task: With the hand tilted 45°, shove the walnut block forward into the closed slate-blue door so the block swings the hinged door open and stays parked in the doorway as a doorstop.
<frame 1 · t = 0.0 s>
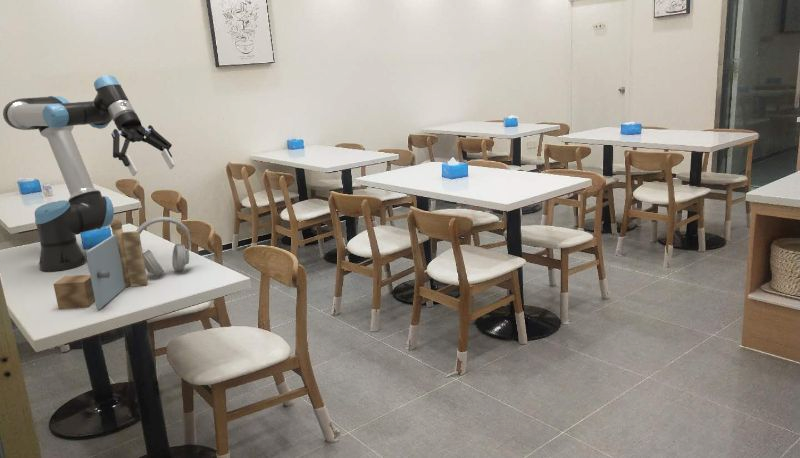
hand: (154, 170, 200), 36 cm above the table, tool tilted 35°, fingers open, 13 cm apart
brown long wooden part: (127, 285, 199), on the table
walnut block: (79, 304, 185), on the table
door: (111, 269, 186), point 9 cm above the table, hinge at 0.0°
brick: (123, 254, 239), on the table
headphones: (167, 274, 210), on the table
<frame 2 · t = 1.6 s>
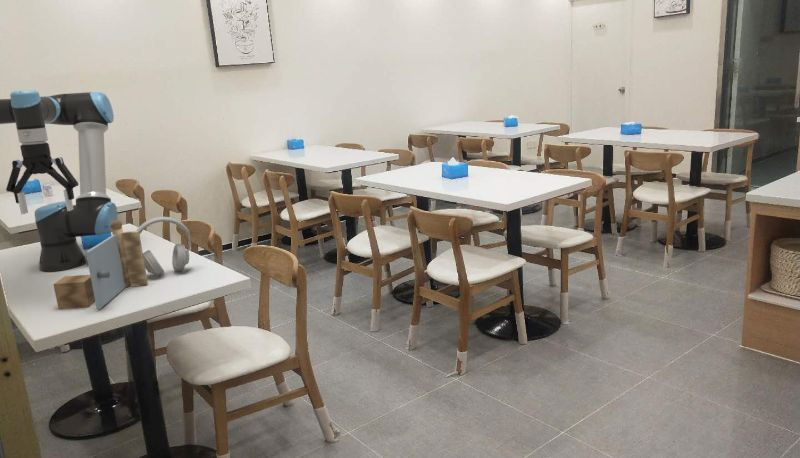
hand: (47, 211, 189), 27 cm above the table, tool pointing down, fingers open, 13 cm apart
nothing on the table moved.
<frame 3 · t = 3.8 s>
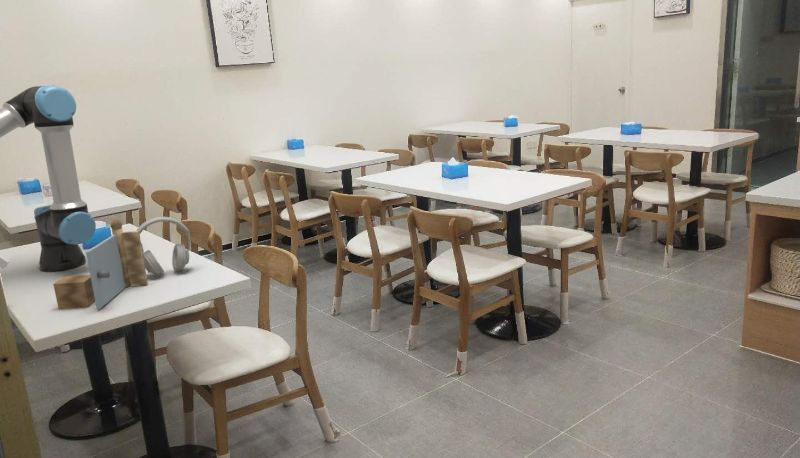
hand: (6, 264, 184), 13 cm above the table, tool tilted 45°, fingers closed
nothing on the table moved.
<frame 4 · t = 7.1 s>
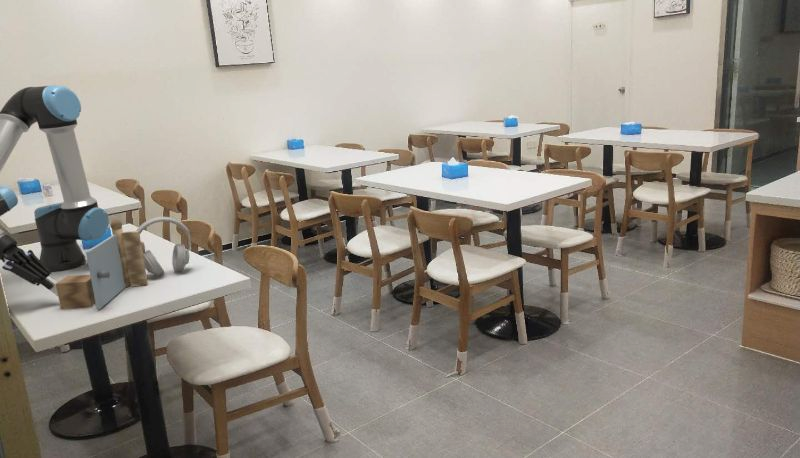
hand: (62, 293, 186), 3 cm above the table, tool tilted 45°, fingers closed
walnut block: (81, 303, 185), on the table, touching gripper
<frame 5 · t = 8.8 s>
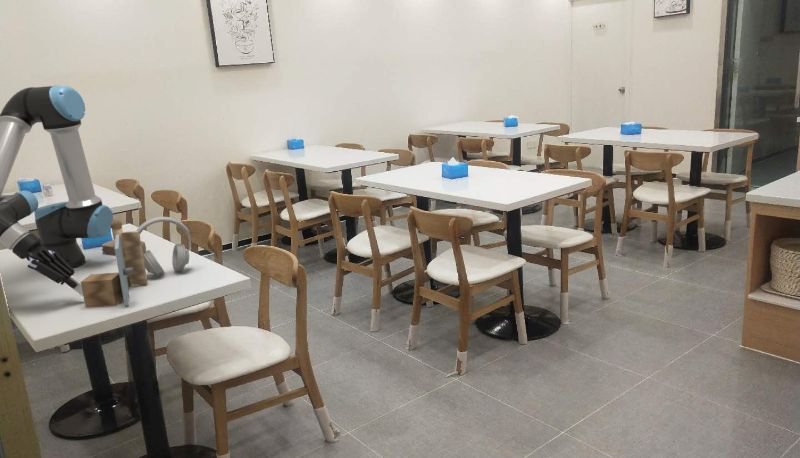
hand: (86, 292, 186), 3 cm above the table, tool tilted 45°, fingers closed
walnut block: (105, 301, 185), on the table, touching door, gripper
door: (126, 267, 187), point 9 cm above the table, hinge at 21.0°, touching walnut block
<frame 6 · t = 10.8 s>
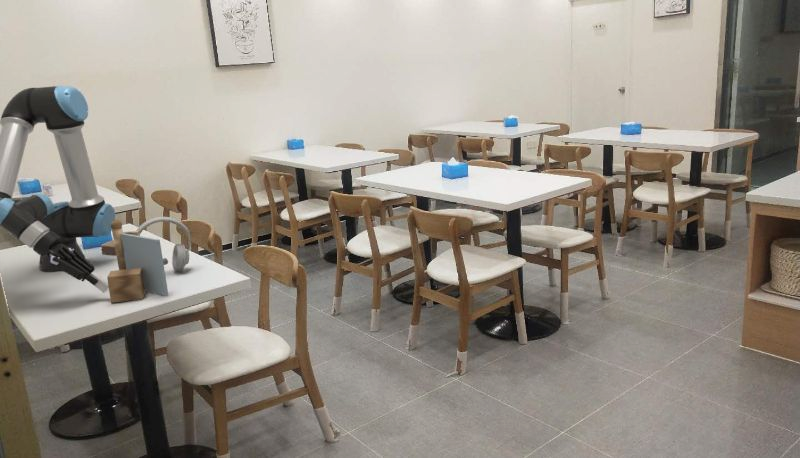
hand: (107, 288, 187), 3 cm above the table, tool tilted 45°, fingers closed
walnut block: (128, 297, 188), on the table, touching door, gripper
door: (147, 262, 191), point 9 cm above the table, hinge at 53.4°, touching walnut block
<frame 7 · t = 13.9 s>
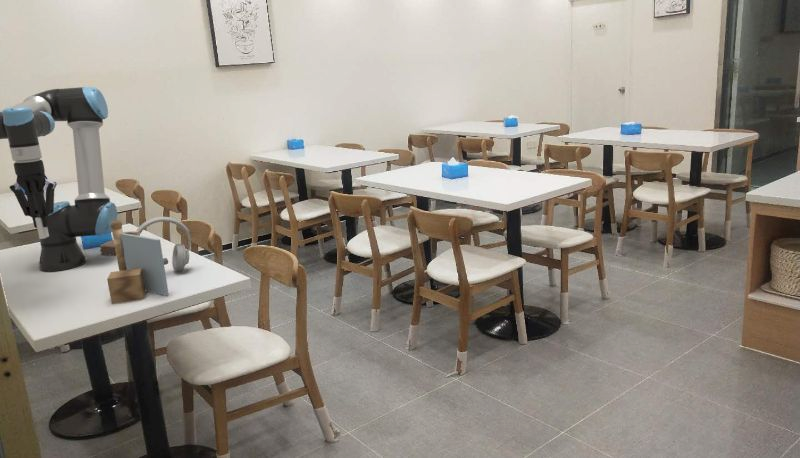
hand: (44, 237, 186), 20 cm above the table, tool pointing down, fingers closed
walnut block: (129, 297, 188), on the table
door: (147, 262, 192), point 9 cm above the table, hinge at 53.7°
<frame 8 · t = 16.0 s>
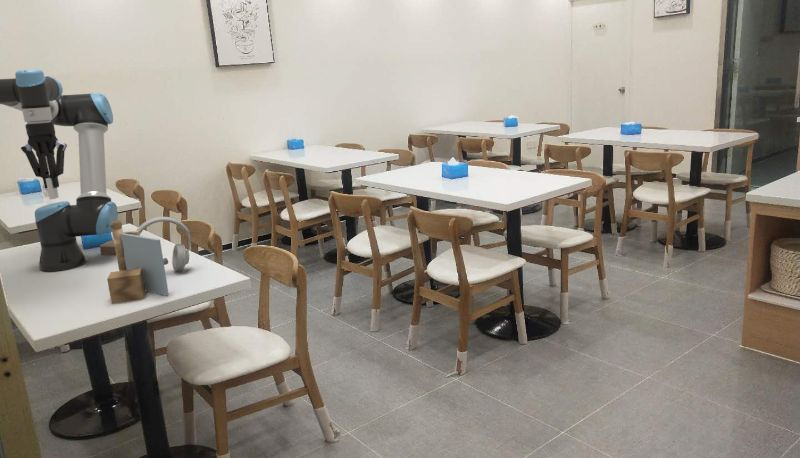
hand: (54, 198, 191), 30 cm above the table, tool pointing down, fingers closed
at the end: door at +54° (first picture: +0°); walnut block inside the target area (3.0 cm from its centre), on the table; walnut block tilted 0° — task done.
